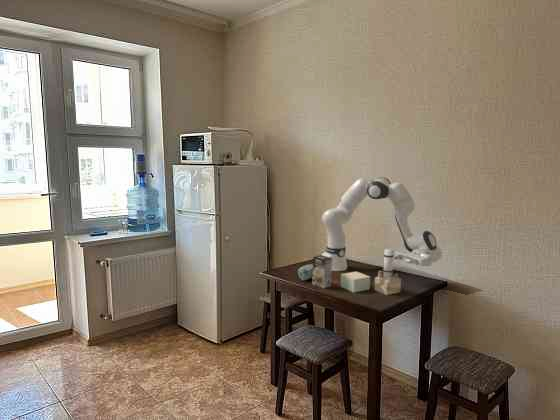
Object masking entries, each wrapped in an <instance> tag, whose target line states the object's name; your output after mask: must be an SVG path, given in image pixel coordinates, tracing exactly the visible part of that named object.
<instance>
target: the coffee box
mask: <svg viewBox="0 0 560 420" xmlns="http://www.w3.org/2000/svg"><path fill="white" fill-rule="evenodd" d="M312 264H313V278H311V279H312V281H311V283H312V285H313V286H315V285H316V287H318V286H319V287H318V288H321V287H322V288H321V289H326V287H327V288H330V287H332V285H331V282H332V272H333V271H332V258H330V257H326V256H323V255H322V254H319V255H314V256H313V257H312Z"/></svg>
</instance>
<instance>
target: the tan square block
mask: <svg viewBox="0 0 560 420" xmlns="http://www.w3.org/2000/svg"><path fill="white" fill-rule="evenodd" d="M383 276H384V271H383V270H378V272H377V276H375V277H374V288H373V289H374V291H376V292H378V293H381V294H384V295H385V296H389V295H393V294H398V293H401V290H402V289H401V288H402V278H399V273H393V274H391V275H388V279H384V278H383Z"/></svg>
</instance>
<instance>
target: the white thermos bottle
mask: <svg viewBox="0 0 560 420" xmlns="http://www.w3.org/2000/svg"><path fill="white" fill-rule="evenodd" d="M394 254H395V251H394V250H393V249H384V253H383V259H384V260H383V268H382V269H383V271H384V276H383V278H384V279H388V275H391V274H394V273H393V272H394Z"/></svg>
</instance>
